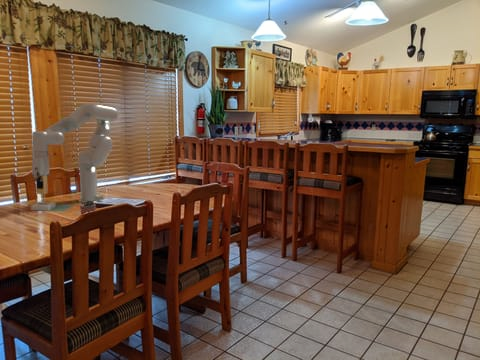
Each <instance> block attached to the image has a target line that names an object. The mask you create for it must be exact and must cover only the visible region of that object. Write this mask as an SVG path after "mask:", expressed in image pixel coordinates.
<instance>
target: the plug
mask: <svg viewBox="0 0 480 360" xmlns="http://www.w3.org/2000/svg"><path fill="white" fill-rule="evenodd" d="M39 176H40V175H39ZM47 178H48V177H47V175H43V176H42V181H43V189H37V184H35V185H36V194H37V195H46V194H48V193H49V189H48V188H49V186H48V180H47Z"/></svg>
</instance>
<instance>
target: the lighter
mask: <svg viewBox="0 0 480 360" xmlns="http://www.w3.org/2000/svg"><path fill="white" fill-rule="evenodd" d="M96 206H97V204H95V202H94V201H93V200H92V201H89V200H87V201H83V202H81V206H80V207H79V208H80V215H81V214H84V213H86V212H90V211H94V210H96V211H97V207H96Z"/></svg>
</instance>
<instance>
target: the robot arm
mask: <svg viewBox="0 0 480 360" xmlns="http://www.w3.org/2000/svg"><path fill="white" fill-rule="evenodd" d="M118 117H119V111H118V110H117V109H116V108H115V107H112V106H106V105H102V104H96V103H84V104H82V105H81V106H79V107H78V108H77V109H75V110H74V111H73V112H72V113H71V114H70V115H68V116H67V117H64V118H62V119H60V120H59V121H57V122H55V123H52V124H51V125H49V126H48V127H47V128H46V129H45V130H43V131H37V130H35V131H33V132H32V134H31V136H32V137H31V139H32V142H31V143H32V162H31V163H32V164H31V175H32V176H33V178H34V179H35V183H36V184H37V189H43V181H42V176H43V175H47V181H48V177H49V175H50V160H49V157H50V153H49V152H50V151H49V145H52V146H61V145H62V144H64V142H65V140H66V137H65V135H64V134H65V133H68V132H73V131H76V130H77V129H79V128H81V127H82V126H83V125H84V124H85V123H87V122H88V121H89V120H90V119H91V120H92V119H95V120H96V127H95V130H94V132H93V133H92V135H91V137H90V138H89V141H88V147H89V149H84V150H82V151H80V152H79V153H78V154H77V163H78V168H79V180H80V181H79V182H80V184H79V186H80V199H78V200H77V201H78V202H79V203H82V202H83V201H87V200H89V201H92V200H93V201H94V203H97V202H100V201H101V200H105V196H104V195H100V193H98V172H97V169H96V168H101V167H102V166H103V165H104V164H105V162H106V161H107V159H108V158H109V156H110V153H111V152H112V150H113V147H114V141H113V140H112V138H111V137H110V134H111V132H112V131H111V130H112V129H111V128H112V126H111V124H110V122H115V121H116V120H118ZM39 175H40V176H39ZM36 184H35V185H36Z"/></svg>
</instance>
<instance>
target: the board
mask: <svg viewBox="0 0 480 360" xmlns="http://www.w3.org/2000/svg"><path fill="white" fill-rule="evenodd" d="M74 206H75V204H74V205H73V204H56V202H54V201H53V202H51V201H48V202H46V201H38V202H36V203H33V204H32V205H30V210H31V211H36V212H37V211H38V212H39V211H40V212H65V211H68V209H71V208H72V207H74Z"/></svg>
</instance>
